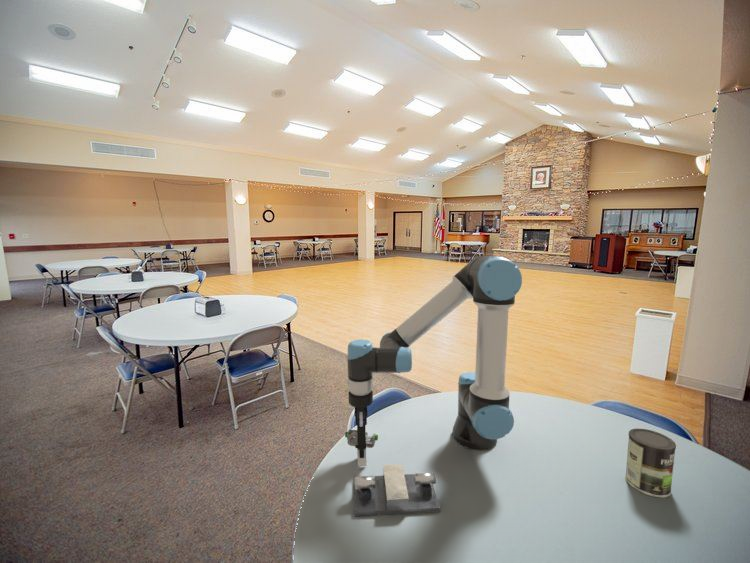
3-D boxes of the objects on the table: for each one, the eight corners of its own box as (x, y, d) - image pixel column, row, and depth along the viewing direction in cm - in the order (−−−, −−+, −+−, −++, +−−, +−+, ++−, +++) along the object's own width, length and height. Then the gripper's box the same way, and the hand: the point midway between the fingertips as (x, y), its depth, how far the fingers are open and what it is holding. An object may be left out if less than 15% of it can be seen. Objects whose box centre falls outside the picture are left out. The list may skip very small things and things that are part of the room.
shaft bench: (429, 477, 101) (429, 458, 100) (440, 512, 88) (440, 490, 87) (355, 480, 100) (354, 461, 99) (354, 516, 87) (354, 494, 86)
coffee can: (678, 489, 95) (683, 442, 93) (659, 503, 90) (664, 453, 88) (636, 468, 104) (640, 424, 102) (617, 479, 99) (621, 433, 97)
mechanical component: (376, 467, 105) (376, 437, 104) (345, 463, 107) (344, 434, 106) (378, 461, 108) (378, 432, 107) (347, 457, 110) (346, 428, 109)
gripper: (349, 379, 113) (350, 445, 116) (347, 404, 96) (349, 479, 99) (371, 379, 113) (372, 444, 116) (373, 403, 97) (375, 478, 100)
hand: (361, 460), depth 108 cm, fingers closed on mechanical component, 4 cm apart
